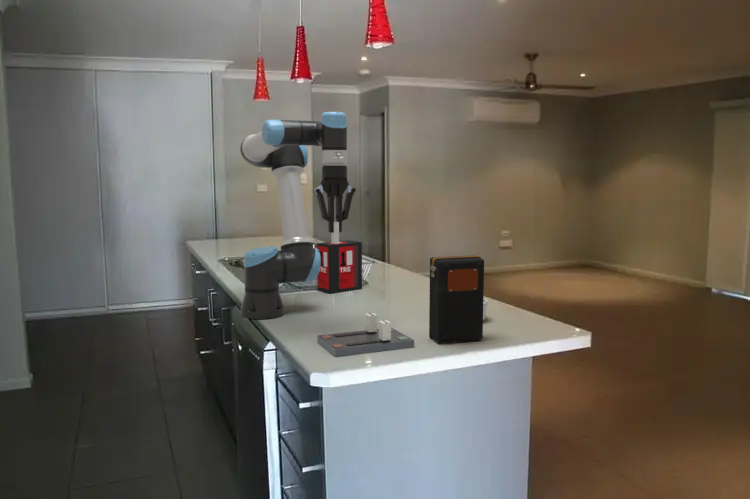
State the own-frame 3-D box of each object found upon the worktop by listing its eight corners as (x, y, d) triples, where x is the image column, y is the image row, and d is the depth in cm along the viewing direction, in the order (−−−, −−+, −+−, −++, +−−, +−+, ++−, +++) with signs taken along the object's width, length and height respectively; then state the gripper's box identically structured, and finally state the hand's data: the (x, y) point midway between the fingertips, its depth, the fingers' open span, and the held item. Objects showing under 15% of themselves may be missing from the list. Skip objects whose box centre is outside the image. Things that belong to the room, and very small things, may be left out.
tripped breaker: (378, 338, 182) (378, 320, 182) (386, 337, 183) (386, 319, 183) (382, 340, 180) (382, 322, 179) (390, 339, 181) (390, 321, 180)
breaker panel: (317, 342, 188) (317, 334, 187) (391, 333, 197) (391, 326, 197) (335, 356, 173) (335, 349, 173) (414, 347, 182) (414, 339, 182)
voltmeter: (473, 334, 196) (475, 254, 193) (486, 341, 188) (488, 258, 185) (426, 338, 192) (427, 256, 188) (437, 345, 184) (438, 260, 180)
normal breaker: (365, 329, 192) (365, 313, 191) (373, 329, 193) (373, 312, 192) (369, 332, 189) (369, 315, 188) (377, 331, 190) (376, 314, 189)
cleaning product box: (349, 286, 275) (349, 240, 272) (362, 289, 268) (361, 242, 265) (317, 290, 264) (317, 243, 262) (329, 294, 258) (329, 245, 255)
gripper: (317, 164, 183) (318, 245, 187) (359, 164, 188) (359, 243, 192) (309, 164, 190) (311, 242, 193) (350, 164, 195) (351, 240, 198)
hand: (335, 243), depth 192 cm, fingers closed
